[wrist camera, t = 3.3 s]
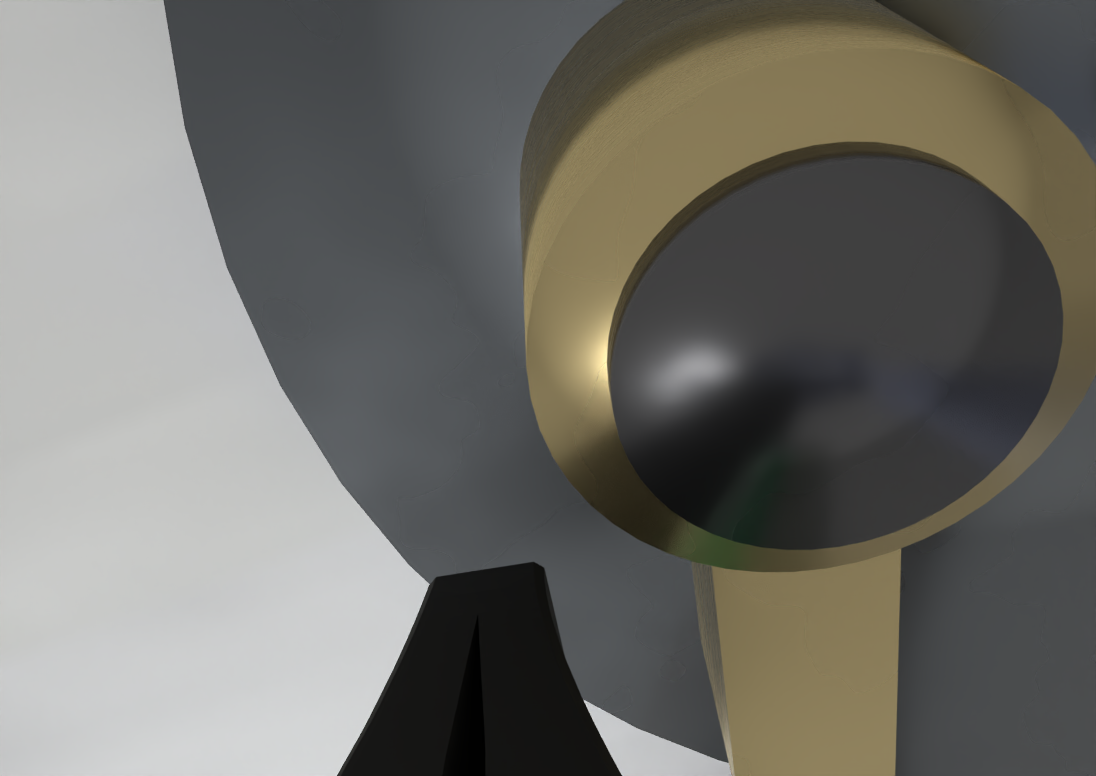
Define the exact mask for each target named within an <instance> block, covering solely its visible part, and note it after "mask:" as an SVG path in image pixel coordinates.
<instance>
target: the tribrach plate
mask: <svg viewBox="0 0 1096 776" xmlns="http://www.w3.org/2000/svg"><path fill="white" fill-rule="evenodd" d="M623 1H625V0H164V5H165V11H166V17H167V23H168V29H169V35H170V41H171V47H172V53H173V59H174V65H175V71H176V77H177V83H178V89H179V95H180V101H181V107H182V113H183V119H184V125H185V129H186V133H187V136H188V139H189V143H190V146H191V149H192V153H193V156H194V159H195V163H196V166H197V169H198V173H199V176H200V179H201V183H202V186H203V189H204V193H205V196H206V199H207V202H208V206H209V209H210V212H211V216H212V219H213V222H214V226H215V229H216V232H217V236H218V239H219V242H220V246H221V249H222V252H223V256H224V259H225V262H226V266H227V268H228V271H229V273H230V275H231V277H232V280H233V282H234V284H235V286H236V288H237V291H238V293H239V295H240V297H241V299H242V302H243V304H244V306H245V308H246V311H247V313H248V315H249V317H250V319H251V322H252V324H253V326H254V328H255V330H256V333H257V335H258V337H259V339H260V342H261V344H262V346H263V348H264V350H265V353H266V355H267V357H268V359H269V362H270V364H271V366H272V368H273V370H274V373H275V375H276V377H277V379H278V381H279V384H280V386H281V387H282V389H283V391H284V392H285V394H286V395H287V397H288V399H289V400H290V402H291V403H292V405H293V407H294V408H295V410H296V411H297V413H298V415H299V416H300V418H301V419H302V421H303V423H304V424H305V426H306V427H307V429H308V431H309V432H310V434H311V435H312V437H313V439H314V440H315V442H316V443H317V445H318V447H319V448H320V450H321V451H322V453H323V455H324V456H325V458H326V459H327V461H328V463H329V464H330V466H331V467H332V469H333V471H334V472H335V474H336V475H337V477H338V479H339V480H340V482H341V483H342V485H343V486H344V487H345V488H346V490H347V491H348V492H349V493H350V494H351V496H352V497H353V498H354V499H355V500H356V502H357V503H358V504H359V505H360V506H361V508H362V509H363V510H364V511H365V512H366V514H367V515H368V516H369V517H370V518H371V520H372V521H373V522H374V523H375V524H376V526H377V527H378V528H379V529H380V530H381V532H382V533H383V534H384V535H385V537H386V538H387V539H388V540H389V541H390V543H391V544H392V545H393V546H394V547H395V549H396V550H397V551H398V552H399V553H400V555H401V556H402V557H403V558H404V559H405V561H406V562H407V563H408V564H409V565H410V566H411V567H412V568H413V569H414V570H415V571H416V572H417V573H418V574H419V575H421V576H422V577H423V578H424V579H425V580H426V581H427V582H428V583H429V584H431V582H432V581H433V580H434V579H435V578H436V577H438V576H445V575H451V574H458V573H464V572H470V571H477V570H483V569H490V568H496V567H503V566H509V565H515V564H522V563H528V562H535V563H537V564H539V565H541V566H542V567H544V568H545V572H546V577H547V581H548V585H549V590H550V594H551V598H552V603H553V607H554V611H555V616H556V620H557V624H558V629H559V633H560V637H561V642H562V646H563V651H564V655H565V658H566V661H567V663H568V665H569V668H570V670H571V673H572V675H573V677H574V680H575V682H576V684H577V687H578V689H579V691H580V694H581V696H582V698H583V699H584V700H586V701H588V702H589V703H591V704H593V705H595V706H597V707H599V708H601V709H602V710H604V711H606V712H608V713H610V714H612V715H614V716H616V717H617V718H619V719H621V720H623V721H625V722H627V723H629V724H630V725H632V726H634V727H636V728H638V729H641V730H643V731H646V732H649V733H651V734H654V735H656V736H659V737H661V738H664V739H666V740H669V741H671V742H674V743H676V744H679V745H682V746H684V747H687V748H689V749H692V750H694V751H697V752H699V753H702V754H704V755H707V756H710V757H712V758H715V759H717V760H720V761H724V762H727V763H729V761H728V757H727V752H726V748H725V744H724V739H723V735H722V731H721V726H720V722H719V718H718V713H717V709H716V704H715V700H714V696H713V691H712V687H711V683H710V678H709V674H708V670H707V665H706V661H705V657H704V652H703V648H702V643H701V637H700V629H699V621H698V612H697V604H696V596H695V588H694V580H693V572H692V564H691V561H690V560H687V559H684V558H681V557H678V556H674V555H671V554H668V553H666V552H664V551H661V550H659V549H657V548H655V547H653V546H651V545H648V544H646V543H644V542H642V541H640V540H638V539H636V538H635V537H633V536H632V535H630V534H628V533H627V532H625V531H624V530H622V529H620V528H619V527H617V526H616V525H614V524H613V523H611V522H610V521H609V520H608V519H607V518H605V517H604V516H603V515H602V514H601V513H599V512H598V511H597V510H596V509H595V508H593V507H592V506H591V505H590V504H589V503H588V502H587V501H586V500H585V499H584V498H583V496H582V495H581V494H580V493H579V492H578V491H577V490H576V489H575V488H574V487H573V485H572V484H571V483H570V482H569V481H568V479H567V478H566V476H565V475H564V473H563V472H562V470H561V469H560V467H559V466H558V464H557V463H556V461H555V460H554V458H553V457H552V454H551V452H550V450H549V448H548V446H547V444H546V442H545V440H544V437H543V435H542V433H541V431H540V429H539V425H538V422H537V419H536V415H535V412H534V408H533V405H532V402H531V398H530V390H529V383H528V375H527V368H526V345H525V320H524V294H523V269H522V244H521V218H520V168H521V161H522V154H523V148H524V142H525V139H526V135H527V132H528V129H529V125H530V122H531V118H532V115H533V113H534V111H535V109H536V106H537V104H538V102H539V99H540V97H541V95H542V93H543V90H544V89H545V87H546V85H547V84H548V82H549V80H550V79H551V77H552V75H553V74H554V72H555V70H556V69H557V67H558V65H559V64H560V63H561V61H562V60H563V59H564V58H565V56H566V55H567V54H568V53H569V51H570V50H571V49H572V48H573V46H574V45H575V44H576V43H577V41H578V40H579V39H580V38H581V37H582V36H583V35H584V34H585V33H586V32H587V31H588V30H589V29H590V28H591V27H593V26H594V25H595V24H596V23H597V22H598V21H599V20H600V19H601V18H602V17H604V16H605V15H606V14H608V13H609V12H610V11H612V10H613V9H614V8H616V7H617V6H618V5H620V4H621V3H622V2H623ZM875 1H876V2H878V3H880V4H881V5H883V6H885V7H886V8H888V9H890V10H891V11H893V12H895V13H896V14H898V15H900V16H901V17H903V18H905V19H907V20H908V21H910V22H912V23H913V24H915V25H917V26H918V27H920V28H922V29H923V30H925V31H927V32H928V33H930V34H932V35H933V36H935V37H937V38H938V39H940V40H942V41H944V42H945V43H947V44H949V45H950V46H952V47H954V48H955V49H957V50H959V51H960V52H962V53H964V54H965V55H967V56H969V57H970V58H972V59H974V60H975V61H977V62H979V63H980V64H982V65H984V66H986V67H987V68H989V69H991V70H992V71H994V72H996V73H997V74H999V75H1001V76H1002V77H1004V78H1006V79H1007V80H1009V81H1011V82H1012V83H1014V84H1016V85H1017V86H1019V87H1021V88H1022V89H1023V90H1025V91H1026V92H1027V93H1029V94H1030V95H1032V96H1033V97H1034V98H1036V99H1037V100H1038V101H1040V102H1041V103H1042V104H1044V105H1045V106H1046V107H1048V108H1049V109H1051V110H1052V111H1053V112H1054V114H1055V115H1056V116H1057V117H1058V118H1059V119H1060V120H1061V121H1062V122H1063V123H1064V124H1065V125H1066V126H1067V127H1068V128H1069V129H1070V130H1071V131H1072V132H1073V133H1074V134H1075V136H1076V137H1077V138H1078V140H1079V141H1080V143H1081V144H1082V146H1083V147H1084V149H1085V150H1086V152H1087V153H1088V155H1089V156H1090V158H1091V159H1092V161H1093V162H1094V164H1095V165H1096V0H875ZM895 776H1096V375H1095V377H1094V379H1093V381H1092V383H1091V385H1090V387H1089V389H1088V391H1087V392H1086V394H1085V396H1084V398H1083V400H1082V402H1081V403H1080V405H1079V406H1078V408H1077V409H1076V411H1075V412H1074V413H1073V415H1072V416H1071V418H1070V419H1069V421H1068V422H1067V424H1066V425H1065V427H1064V428H1063V430H1062V431H1061V432H1060V433H1059V434H1058V436H1057V437H1056V438H1055V439H1054V440H1053V442H1052V443H1051V444H1050V445H1049V446H1048V447H1047V449H1046V450H1045V451H1044V452H1043V453H1042V454H1041V456H1040V457H1039V458H1038V459H1037V460H1036V461H1035V462H1034V463H1033V464H1031V465H1030V466H1029V467H1028V468H1027V469H1026V470H1025V471H1024V472H1023V473H1022V474H1021V475H1020V476H1019V477H1018V478H1017V479H1016V480H1015V481H1014V482H1013V483H1011V484H1010V485H1009V486H1007V487H1006V488H1005V489H1004V490H1002V491H1001V492H1000V493H998V494H997V495H996V496H995V497H993V498H992V499H991V500H990V501H988V502H987V503H986V504H984V505H983V506H981V507H979V508H978V509H976V510H975V511H973V512H972V513H970V514H969V515H967V516H965V517H964V518H962V519H961V520H959V521H958V522H956V523H954V524H952V525H950V526H948V527H946V528H945V529H943V530H941V531H939V532H937V533H935V534H933V535H931V536H929V537H927V538H925V539H923V540H920V541H918V542H915V543H913V544H911V545H908V546H906V547H903V548H901V573H900V611H899V649H898V687H897V724H896V762H895Z"/></svg>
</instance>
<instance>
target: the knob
mask: <svg viewBox="0 0 1096 776" xmlns="http://www.w3.org/2000/svg"><path fill="white" fill-rule="evenodd" d="M520 218H521V244H522V269H523V294H524V320H525V345H526V368H527V375H528V383H529V390H530V398H531V402H532V405H533V408H534V412H535V415H536V419H537V422H538V425H539V429H540V431H541V433H542V435H543V437H544V440H545V442H546V444H547V446H548V448H549V450H550V452H551V454H552V457H553V458H554V460H555V461H556V463H557V464H558V466H559V467H560V469H561V470H562V472H563V473H564V475H565V476H566V478H567V479H568V481H569V482H570V483H571V484H572V485H573V487H574V488H575V489H576V490H577V491H578V492H579V493H580V494H581V495H582V496H583V498H584V499H585V500H586V501H587V502H588V503H589V504H590V505H591V506H592V507H593V508H595V509H596V510H597V511H598V512H599V513H601V514H602V515H603V516H604V517H605V518H607V519H608V520H609V521H610V522H611V523H613V524H614V525H616V526H617V527H619V528H620V529H622V530H624V531H625V532H627V533H628V534H630V535H632V536H633V537H635V538H636V539H638V540H640V541H642V542H644V543H646V544H648V545H651V546H653V547H655V548H657V549H659V550H661V551H664V552H666V553H668V554H671V555H674V556H678V557H681V558H684V559H687V560H690V561H691V564H692V572H693V580H694V588H695V596H696V604H697V612H698V621H699V629H700V637H701V643H702V648H703V652H704V657H705V661H706V665H707V670H708V674H709V678H710V683H711V687H712V691H713V696H714V700H715V704H716V709H717V713H718V718H719V722H720V726H721V731H722V735H723V739H724V744H725V748H726V752H727V757H728V761H729V765H730V770H731V774H732V776H895V762H896V724H897V687H898V649H899V611H900V573H901V548H903V547H906V546H908V545H911V544H913V543H915V542H918V541H920V540H923V539H925V538H927V537H929V536H931V535H933V534H935V533H937V532H939V531H941V530H943V529H945V528H946V527H948V526H950V525H952V524H954V523H956V522H958V521H959V520H961V519H962V518H964V517H965V516H967V515H969V514H970V513H972V512H973V511H975V510H976V509H978V508H979V507H981V506H983V505H984V504H986V503H987V502H988V501H990V500H991V499H992V498H993V497H995V496H996V495H997V494H998V493H1000V492H1001V491H1002V490H1004V489H1005V488H1006V487H1007V486H1009V485H1010V484H1011V483H1013V482H1014V481H1015V480H1016V479H1017V478H1018V477H1019V476H1020V475H1021V474H1022V473H1023V472H1024V471H1025V470H1026V469H1027V468H1028V467H1029V466H1030V465H1031V464H1033V463H1034V462H1035V461H1036V460H1037V459H1038V458H1039V457H1040V456H1041V454H1042V453H1043V452H1044V451H1045V450H1046V449H1047V447H1048V446H1049V445H1050V444H1051V443H1052V442H1053V440H1054V439H1055V438H1056V437H1057V436H1058V434H1059V433H1060V432H1061V431H1062V430H1063V428H1064V427H1065V425H1066V424H1067V422H1068V421H1069V419H1070V418H1071V416H1072V415H1073V413H1074V412H1075V411H1076V409H1077V408H1078V406H1079V405H1080V403H1081V402H1082V400H1083V398H1084V396H1085V394H1086V392H1087V391H1088V389H1089V387H1090V385H1091V383H1092V381H1093V379H1094V377H1095V375H1096V165H1095V164H1094V162H1093V161H1092V159H1091V158H1090V156H1089V155H1088V153H1087V152H1086V150H1085V149H1084V147H1083V146H1082V144H1081V143H1080V141H1079V140H1078V138H1077V137H1076V136H1075V134H1074V133H1073V132H1072V131H1071V130H1070V129H1069V128H1068V127H1067V126H1066V125H1065V124H1064V123H1063V122H1062V121H1061V120H1060V119H1059V118H1058V117H1057V116H1056V115H1055V114H1054V112H1053V111H1052V110H1051V109H1049V108H1048V107H1046V106H1045V105H1044V104H1042V103H1041V102H1040V101H1038V100H1037V99H1036V98H1034V97H1033V96H1032V95H1030V94H1029V93H1027V92H1026V91H1025V90H1023V89H1022V88H1021V87H1019V86H1017V85H1016V84H1014V83H1012V82H1011V81H1009V80H1007V79H1006V78H1004V77H1002V76H1001V75H999V74H997V73H996V72H994V71H992V70H991V69H989V68H987V67H986V66H984V65H982V64H980V63H979V62H977V61H975V60H974V59H972V58H970V57H969V56H967V55H965V54H964V53H962V52H960V51H959V50H957V49H955V48H954V47H952V46H950V45H949V44H947V43H945V42H944V41H942V40H940V39H938V38H937V37H935V36H933V35H932V34H930V33H928V32H927V31H925V30H923V29H922V28H920V27H918V26H917V25H915V24H913V23H912V22H910V21H908V20H907V19H905V18H903V17H901V16H900V15H898V14H896V13H895V12H893V11H891V10H890V9H888V8H886V7H885V6H883V5H881V4H880V3H878V2H876V1H875V0H625V1H623V2H622V3H621V4H620V5H618V6H617V7H616V8H614V9H613V10H612V11H610V12H609V13H608V14H606V15H605V16H604V17H602V18H601V19H600V20H599V21H598V22H597V23H596V24H595V25H594V26H593V27H591V28H590V29H589V30H588V31H587V32H586V33H585V34H584V35H583V36H582V37H581V38H580V39H579V40H578V41H577V43H576V44H575V45H574V46H573V48H572V49H571V50H570V51H569V53H568V54H567V55H566V56H565V58H564V59H563V60H562V61H561V63H560V64H559V65H558V67H557V69H556V70H555V72H554V74H553V75H552V77H551V79H550V80H549V82H548V84H547V85H546V87H545V89H544V90H543V93H542V95H541V97H540V99H539V102H538V104H537V106H536V109H535V111H534V113H533V115H532V118H531V122H530V125H529V129H528V132H527V135H526V139H525V142H524V148H523V154H522V161H521V168H520Z"/></svg>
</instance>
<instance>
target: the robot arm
mask: <svg viewBox="0 0 1096 776" xmlns="http://www.w3.org/2000/svg"><path fill="white" fill-rule="evenodd" d="M337 776H622V775H621V773H620V772H619V770H618V768H617V766H616V764H615V762H614V761H613V759H612V757H611V755H610V753H609V751H608V749H607V747H606V745H605V743H604V741H603V739H602V738H601V736H600V734H599V732H598V730H597V728H596V726H595V724H594V722H593V720H592V718H591V716H590V713H589V711H588V709H587V707H586V705H585V703H584V701H583V698H582V696H581V694H580V691H579V689H578V687H577V684H576V682H575V680H574V677H573V675H572V673H571V670H570V668H569V665H568V663H567V661H566V658H565V655H564V651H563V646H562V642H561V637H560V633H559V629H558V624H557V620H556V616H555V611H554V607H553V603H552V598H551V594H550V590H549V585H548V581H547V577H546V572H545V568H544V567H542V566H541V565H539V564H537V563H535V562H528V563H522V564H515V565H509V566H503V567H496V568H490V569H483V570H477V571H470V572H464V573H458V574H451V575H445V576H438V577H436V578H435V579H434V580H433V581H432V582H431V584H430V585H429V587H428V590H427V592H426V595H425V598H424V600H423V603H422V605H421V608H420V610H419V613H418V615H417V618H416V620H415V622H414V625H413V627H412V629H411V632H410V634H409V636H408V639H407V641H406V643H405V645H404V647H403V650H402V652H401V654H400V656H399V658H398V661H397V663H396V665H395V667H394V669H393V671H392V673H391V675H390V677H389V679H388V681H387V683H386V685H385V687H384V689H383V691H382V693H381V695H380V697H379V699H378V701H377V703H376V705H375V707H374V710H373V712H372V714H371V716H370V718H369V719H368V721H367V723H366V725H365V727H364V729H363V731H362V733H361V734H360V736H359V738H358V740H357V741H356V743H355V745H354V747H353V748H352V750H351V752H350V754H349V755H348V757H347V759H346V761H345V762H344V764H343V766H342V768H341V770H340V771H339V773H338V775H337Z"/></svg>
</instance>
